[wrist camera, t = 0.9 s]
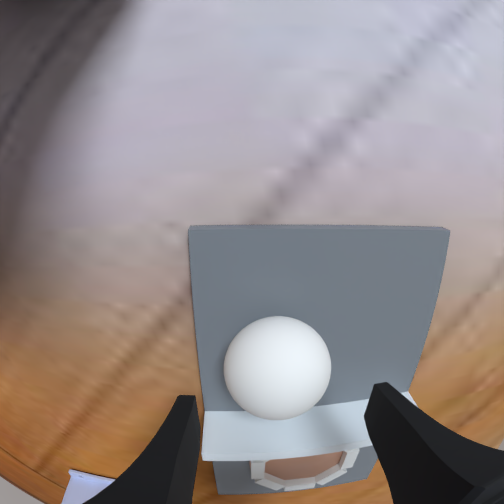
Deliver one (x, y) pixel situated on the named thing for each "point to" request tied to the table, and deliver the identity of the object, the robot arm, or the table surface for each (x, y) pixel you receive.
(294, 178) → the table surface
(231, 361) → the ball
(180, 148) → the table surface
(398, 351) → the board
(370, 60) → the table surface
